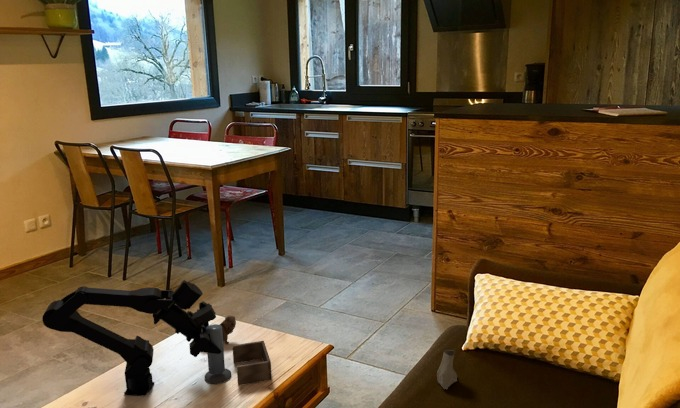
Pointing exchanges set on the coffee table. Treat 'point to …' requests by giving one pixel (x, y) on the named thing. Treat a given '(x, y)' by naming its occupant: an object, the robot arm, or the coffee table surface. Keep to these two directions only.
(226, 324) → the lion figurine
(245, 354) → the crate
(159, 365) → the coffee table surface
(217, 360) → the grey post
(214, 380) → the coaster
